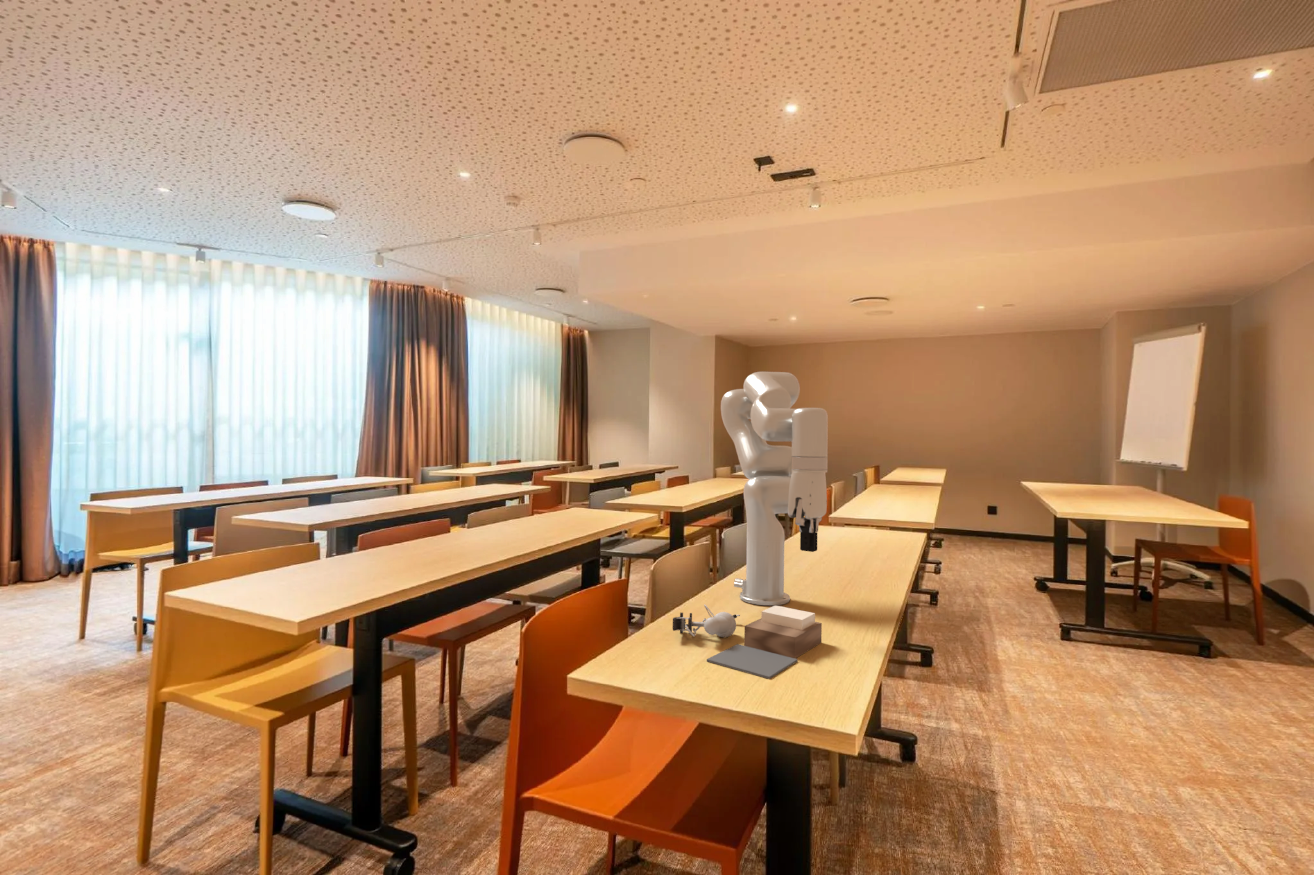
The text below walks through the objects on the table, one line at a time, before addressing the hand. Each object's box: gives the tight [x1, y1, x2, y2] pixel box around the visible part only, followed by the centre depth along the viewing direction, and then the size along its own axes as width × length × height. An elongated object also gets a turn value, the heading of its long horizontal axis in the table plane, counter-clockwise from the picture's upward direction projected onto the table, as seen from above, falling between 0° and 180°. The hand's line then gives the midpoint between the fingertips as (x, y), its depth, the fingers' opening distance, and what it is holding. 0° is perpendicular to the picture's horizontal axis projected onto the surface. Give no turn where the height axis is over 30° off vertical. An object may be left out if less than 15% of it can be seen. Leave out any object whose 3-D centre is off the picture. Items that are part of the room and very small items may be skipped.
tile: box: [760, 605, 816, 630], centre depth 128 cm, size 9×6×2 cm, turn 52°
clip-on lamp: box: [672, 604, 741, 638], centre depth 133 cm, size 12×6×18 cm
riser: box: [743, 618, 823, 659], centre depth 127 cm, size 11×12×4 cm
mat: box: [706, 643, 798, 680], centre depth 117 cm, size 13×11×1 cm
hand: (808, 550), depth 135 cm, fingers closed
